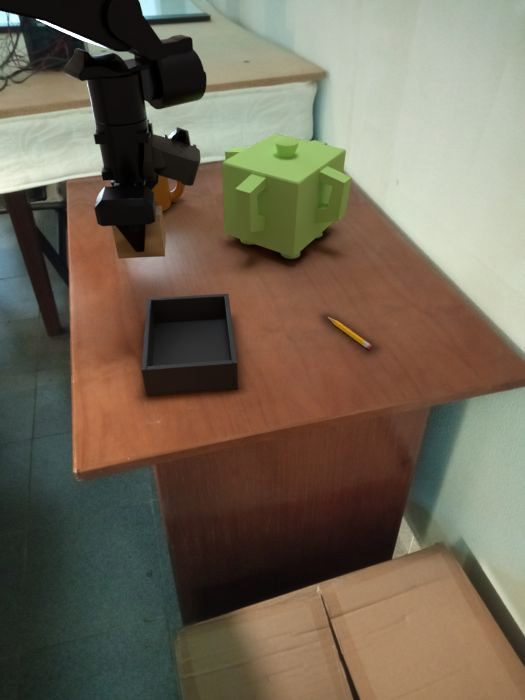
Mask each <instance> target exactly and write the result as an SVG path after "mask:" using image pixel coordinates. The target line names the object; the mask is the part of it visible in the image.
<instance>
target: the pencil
mask: <svg viewBox="0 0 525 700" xmlns="http://www.w3.org/2000/svg"><path fill="white" fill-rule="evenodd" d="M327 319H328V320H329V321H330V322H331V323H332V325H334V326H335V327H336V328H338V329H339V330H340V331H342V332H343V333H345V334H346V335H347V336H348V337H350V338H351V339H352V340H354V341H355V342H357V343H358V344H360V345H361V346H362V347H364V348H365V349H366V350H368V351H370V350H372V348H373V345H372V344H370V343H369V342H368V341H366V340H365V339H363V338H362V337H360V336H359V335H358V334H357V333H355V332H354V331H353V330H351V329H350V328H348V327H347V326H346V325H344V324H343V323H341V322H340V321H338V320H337V319H334V318H332V317H329V316H327Z"/></svg>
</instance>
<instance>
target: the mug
mask: <svg viewBox="0 0 525 700" xmlns="http://www.w3.org/2000/svg"><path fill="white" fill-rule="evenodd" d="M169 184H170V183H169V178H166V177H163V176H160V175H159V182H158V184H157V185H156V186H155V187H154V188H153V189H152V191H153V192H154V195H155V202H157V206H162V213H163V212H165V211H167V210H168V209H169V208H170V207H171V205H172V203H175V202H177V201H178V200H179V199H180V198H181V197H182V195H183V193H184V191H185V188H186V185H184V184H182V183H181V182H179V181H176V184H175V187H174V188H173V190H171V191H170V185H169Z"/></svg>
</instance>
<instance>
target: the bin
mask: <svg viewBox="0 0 525 700" xmlns="http://www.w3.org/2000/svg"><path fill="white" fill-rule="evenodd" d="M145 305H146V306H145V307H146V308H145V319H144V332H143V343H142V344H143V345H142V357H141V375H142V381H143V384H144V390H145V394H146V397H152V396H153V397H155V396H166V395H180V394H192V393H204V392H216V391H229V390H230V391H231V390H238V389H239V375H238V374H239V373H238V371H239V369H238V357H237V349H236V342H235V333H234V326H233V325H234V324H233V318H232V311H231V304H230V296H229V293H211V294H196V295H181V296H164V297H148V298H146V304H145Z"/></svg>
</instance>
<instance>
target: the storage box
mask: <svg viewBox="0 0 525 700" xmlns="http://www.w3.org/2000/svg"><path fill="white" fill-rule="evenodd" d="M346 155H347V151H346V149H345V148H341V147H336V146H333V145H328V142H324V141H321V140H315V139H314V140H306V139H302V138H298V137H294V136H289V135H284V134H280V133H276V132H275V133H274V134H271V135H269V136H268V137H266V138H264V139H261V140H260V141H258V142H256V143H254V144H253V145H251V146H249V147H244V146H243V147H242V146H241V147H240V146H233V147H231V148H229V149H227V150H226V151H224V159H225V160H224V161H222V163H221V176H222V179H221V180H222V203H223V226H224V227H223V229H224V235H227V236H229V237H233V238H236V239H239V240H240V242H241V243H242V244H244V245H249V246H251V245H252V246H253V245H256V246H259V247H262V248H264V249H269V250H271V251H274V252H277V253H280V255H281V256H282V257H283V258H285V259H290V260H294V259H297V258H299V257H300V256H301V252H302V250H304V249H305V248H306V247H308V245H309V244H311V242H313V241H314V240H315V239H319V238H321V237H322V236H323V232H324V231H325V230H326V229H327V228H329V227H330V226H331V225H332V224H333V223H334V222H339V221H341V219H342V218H344V217H345V216H346V213H347V207H348V201H349V195H350V190H351V184H352V178H353V177H352V176H351V175H348V174H346V173H344V170H345V161H346Z"/></svg>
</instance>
